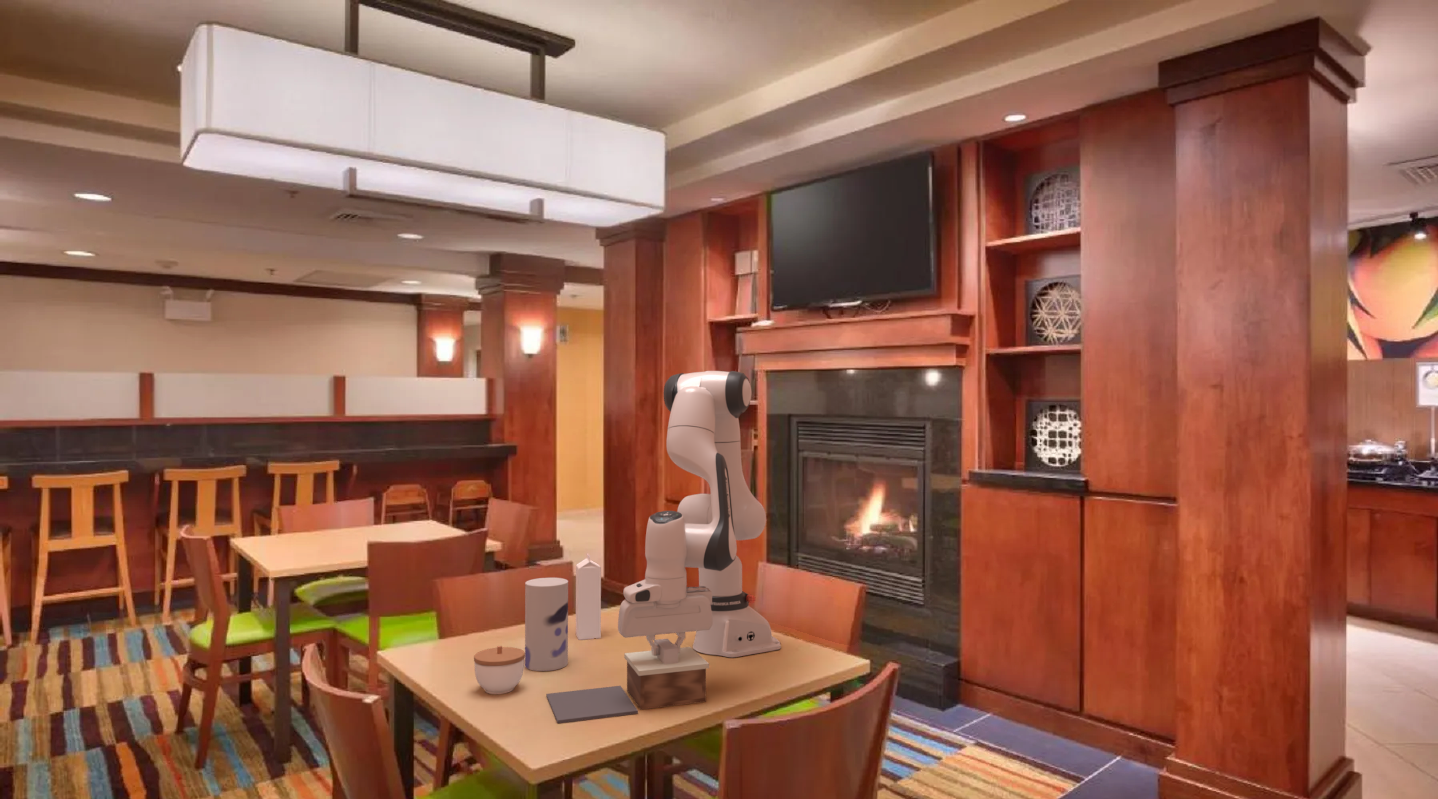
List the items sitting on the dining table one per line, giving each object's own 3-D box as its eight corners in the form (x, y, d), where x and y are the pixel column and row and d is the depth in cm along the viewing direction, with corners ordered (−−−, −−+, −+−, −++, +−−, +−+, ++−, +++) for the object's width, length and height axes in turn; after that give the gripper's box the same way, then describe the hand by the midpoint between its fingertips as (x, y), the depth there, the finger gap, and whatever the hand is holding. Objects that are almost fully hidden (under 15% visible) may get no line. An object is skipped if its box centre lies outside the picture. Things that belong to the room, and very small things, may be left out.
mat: (620, 688, 181) (620, 685, 181) (638, 713, 166) (638, 710, 166) (546, 696, 176) (546, 693, 176) (557, 723, 161) (557, 720, 161)
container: (558, 673, 192) (558, 586, 192) (517, 670, 194) (518, 584, 194) (574, 660, 201) (574, 577, 202) (535, 657, 203) (536, 576, 204)
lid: (690, 654, 185) (690, 633, 185) (709, 672, 173) (709, 649, 173) (624, 661, 180) (624, 639, 180) (638, 679, 168) (638, 656, 168)
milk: (578, 640, 219) (577, 556, 219) (575, 634, 225) (575, 552, 225) (601, 638, 221) (600, 555, 221) (598, 632, 227) (597, 551, 227)
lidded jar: (479, 682, 185) (479, 640, 185) (528, 680, 186) (528, 639, 186) (468, 698, 174) (469, 654, 175) (520, 697, 175) (520, 652, 176)
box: (688, 683, 184) (688, 652, 184) (705, 701, 173) (705, 667, 173) (627, 690, 179) (627, 658, 180) (640, 709, 168) (640, 674, 168)
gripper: (707, 582, 183) (707, 645, 183) (616, 589, 176) (616, 654, 176) (716, 588, 177) (716, 653, 177) (622, 595, 170) (622, 663, 170)
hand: (665, 654), depth 176 cm, fingers closed on lid, 3 cm apart
